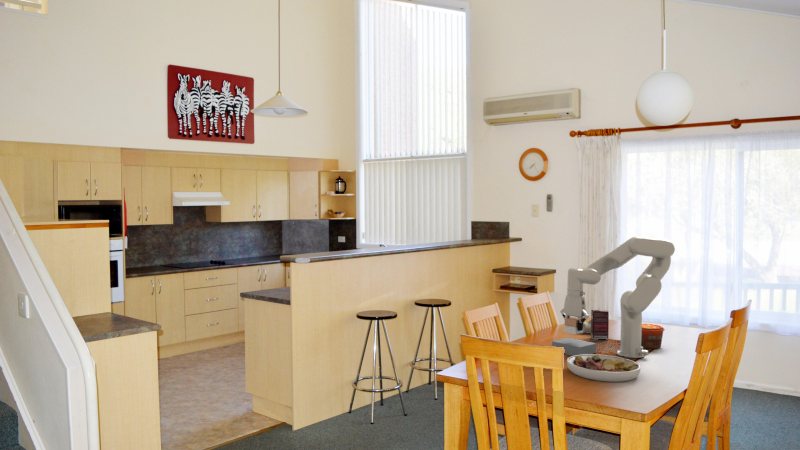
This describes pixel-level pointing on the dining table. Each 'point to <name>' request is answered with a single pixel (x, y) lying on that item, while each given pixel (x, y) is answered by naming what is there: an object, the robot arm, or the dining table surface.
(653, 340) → the food container
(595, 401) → the dining table surface
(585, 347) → the stand
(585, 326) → the ceramic sculpture
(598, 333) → the supplement box
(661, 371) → the dining table surface
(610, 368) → the bowl
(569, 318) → the housing
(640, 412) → the dining table surface
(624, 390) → the dining table surface
